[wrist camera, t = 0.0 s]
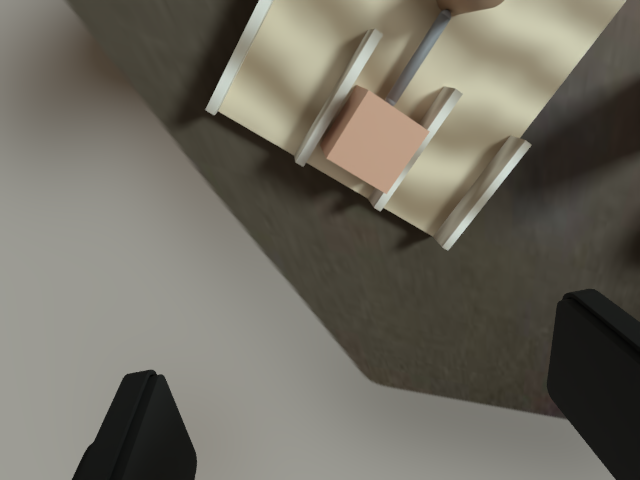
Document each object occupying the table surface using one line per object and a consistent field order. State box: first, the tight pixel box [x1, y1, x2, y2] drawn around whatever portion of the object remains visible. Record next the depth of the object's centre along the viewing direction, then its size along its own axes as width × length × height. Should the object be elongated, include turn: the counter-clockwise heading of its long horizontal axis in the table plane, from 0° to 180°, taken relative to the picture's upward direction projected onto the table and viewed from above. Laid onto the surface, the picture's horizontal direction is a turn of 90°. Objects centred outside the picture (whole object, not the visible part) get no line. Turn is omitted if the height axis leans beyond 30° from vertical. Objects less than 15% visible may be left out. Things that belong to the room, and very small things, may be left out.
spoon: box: [320, 0, 504, 194], centre depth 32 cm, size 18×6×6 cm, turn 148°
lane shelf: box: [205, 0, 626, 250], centre depth 33 cm, size 34×26×4 cm
